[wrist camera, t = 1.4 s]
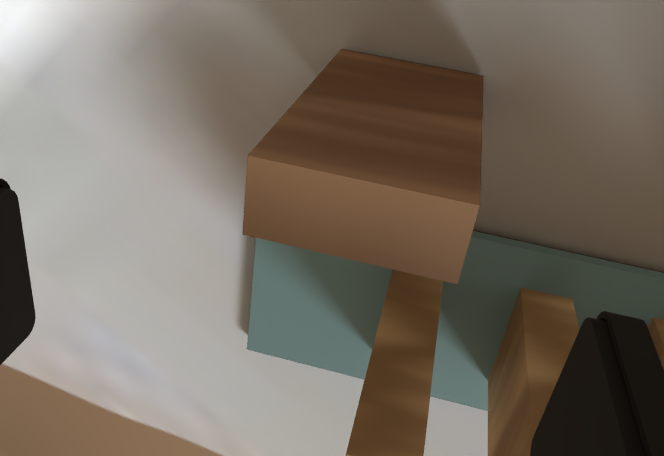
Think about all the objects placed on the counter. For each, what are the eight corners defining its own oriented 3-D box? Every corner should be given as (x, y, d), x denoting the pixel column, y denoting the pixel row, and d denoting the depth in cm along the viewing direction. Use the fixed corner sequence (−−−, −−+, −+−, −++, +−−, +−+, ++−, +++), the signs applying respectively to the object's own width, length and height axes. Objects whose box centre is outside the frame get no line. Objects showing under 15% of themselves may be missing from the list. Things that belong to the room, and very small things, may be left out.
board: (893, 323, 22) (901, 332, 22) (777, 476, 27) (782, 486, 26) (263, 184, 25) (259, 189, 25) (250, 342, 29) (246, 349, 29)
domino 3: (572, 298, 24) (619, 528, 16) (534, 392, 27) (556, 633, 18) (520, 287, 24) (538, 506, 16) (488, 380, 27) (487, 613, 18)
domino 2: (444, 269, 25) (421, 474, 16) (419, 363, 27) (387, 583, 19) (395, 258, 25) (346, 454, 16) (374, 352, 27) (323, 564, 19)
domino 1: (341, 48, 22) (248, 155, 13) (483, 75, 21) (480, 205, 13) (334, 103, 23) (242, 234, 14) (469, 130, 22) (457, 284, 14)
